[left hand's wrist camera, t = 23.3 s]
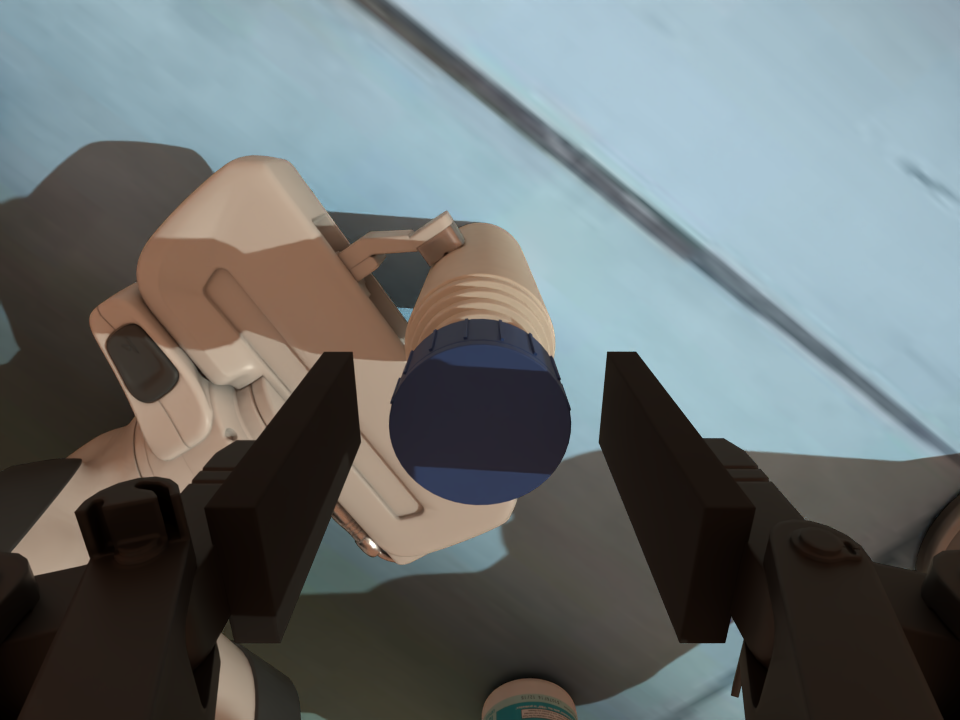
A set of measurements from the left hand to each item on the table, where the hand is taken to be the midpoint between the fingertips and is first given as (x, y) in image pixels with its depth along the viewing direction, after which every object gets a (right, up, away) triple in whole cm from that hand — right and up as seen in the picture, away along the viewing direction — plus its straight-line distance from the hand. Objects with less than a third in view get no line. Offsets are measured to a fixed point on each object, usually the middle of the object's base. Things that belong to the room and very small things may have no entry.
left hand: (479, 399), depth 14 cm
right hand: (+1, +4, +9) cm, 10 cm away
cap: (0, -1, -1) cm, 1 cm away
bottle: (0, +6, +15) cm, 17 cm away
